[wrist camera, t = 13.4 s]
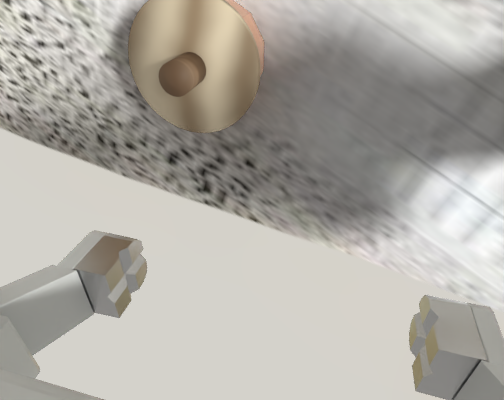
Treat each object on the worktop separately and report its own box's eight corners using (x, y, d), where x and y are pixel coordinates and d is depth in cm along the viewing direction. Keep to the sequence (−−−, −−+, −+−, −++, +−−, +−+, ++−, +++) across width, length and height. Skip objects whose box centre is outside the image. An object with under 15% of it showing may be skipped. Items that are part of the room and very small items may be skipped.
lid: (262, -11, 31) (247, -6, 27) (259, 135, 39) (247, 156, 35) (120, -15, 34) (88, -11, 30) (145, 122, 42) (122, 140, 38)
